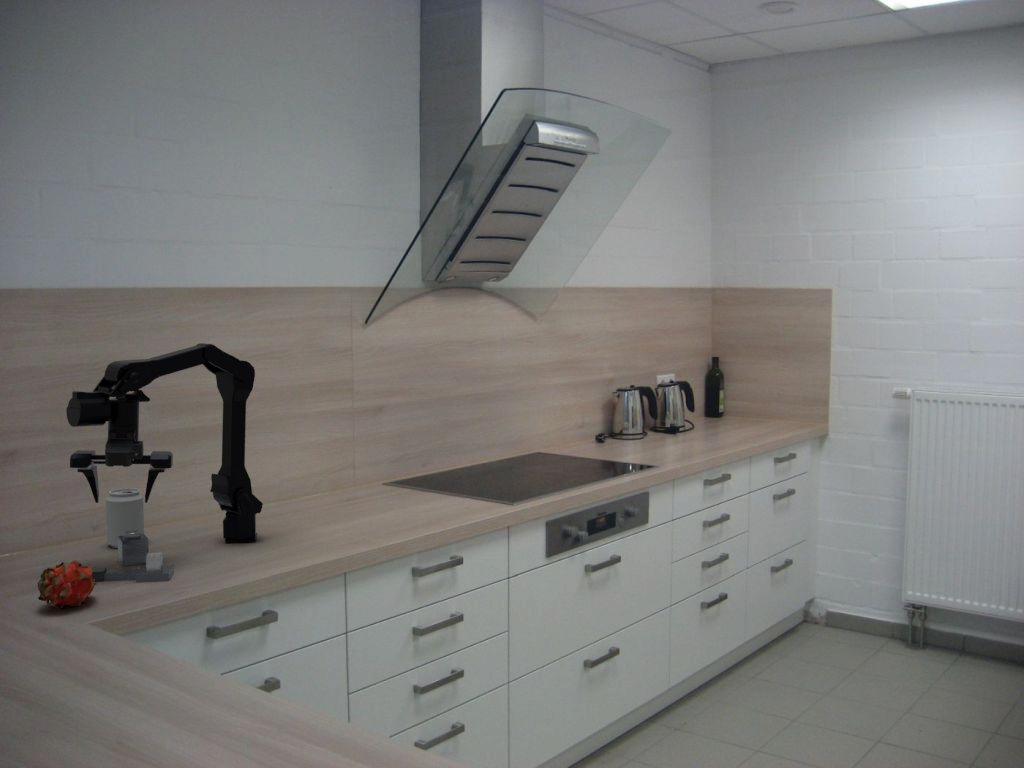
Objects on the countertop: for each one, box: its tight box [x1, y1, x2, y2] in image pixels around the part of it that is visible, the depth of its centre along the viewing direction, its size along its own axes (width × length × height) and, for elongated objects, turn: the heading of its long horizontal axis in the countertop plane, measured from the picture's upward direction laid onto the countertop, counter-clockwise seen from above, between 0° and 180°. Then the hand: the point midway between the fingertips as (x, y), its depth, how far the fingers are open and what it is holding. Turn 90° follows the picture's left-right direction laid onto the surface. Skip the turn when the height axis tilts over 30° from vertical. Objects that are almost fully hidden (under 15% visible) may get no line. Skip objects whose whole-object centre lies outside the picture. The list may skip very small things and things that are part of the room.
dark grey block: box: [117, 531, 150, 567], centre depth 203 cm, size 5×5×6 cm
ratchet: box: [90, 552, 174, 583], centre depth 191 cm, size 20×6×4 cm, turn 101°
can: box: [105, 487, 145, 549], centre depth 216 cm, size 8×8×12 cm
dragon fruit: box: [37, 560, 98, 610], centre depth 176 cm, size 8×8×12 cm
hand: (121, 502), depth 200 cm, fingers open, 9 cm apart
